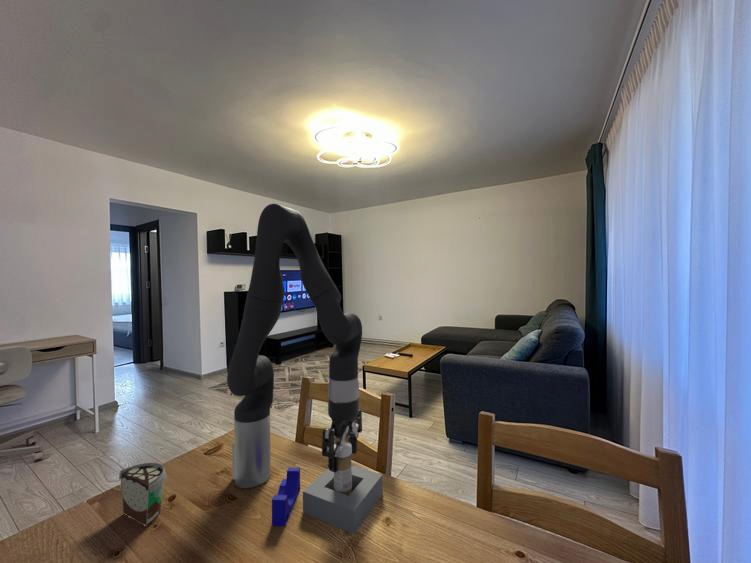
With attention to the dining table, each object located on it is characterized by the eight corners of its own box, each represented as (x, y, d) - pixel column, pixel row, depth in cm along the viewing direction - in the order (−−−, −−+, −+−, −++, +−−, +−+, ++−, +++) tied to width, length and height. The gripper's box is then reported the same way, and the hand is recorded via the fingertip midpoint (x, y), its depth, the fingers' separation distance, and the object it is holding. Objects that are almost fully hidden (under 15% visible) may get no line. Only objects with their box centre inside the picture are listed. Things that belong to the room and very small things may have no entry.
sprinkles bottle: (349, 491, 79) (349, 438, 79) (354, 504, 74) (353, 448, 74) (331, 496, 77) (331, 442, 77) (335, 508, 73) (335, 451, 73)
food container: (178, 510, 74) (178, 468, 74) (150, 529, 68) (150, 484, 68) (147, 496, 79) (147, 456, 79) (119, 512, 73) (119, 470, 73)
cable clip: (283, 490, 81) (283, 467, 81) (300, 490, 81) (300, 467, 81) (265, 526, 69) (265, 499, 69) (285, 527, 69) (285, 499, 69)
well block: (302, 512, 73) (302, 491, 73) (336, 478, 85) (336, 460, 85) (354, 534, 66) (354, 510, 66) (382, 494, 79) (382, 474, 79)
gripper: (346, 384, 84) (346, 444, 84) (312, 402, 71) (312, 473, 71) (370, 388, 80) (370, 451, 81) (340, 408, 68) (340, 482, 68)
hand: (343, 461), depth 76 cm, fingers open, 8 cm apart
